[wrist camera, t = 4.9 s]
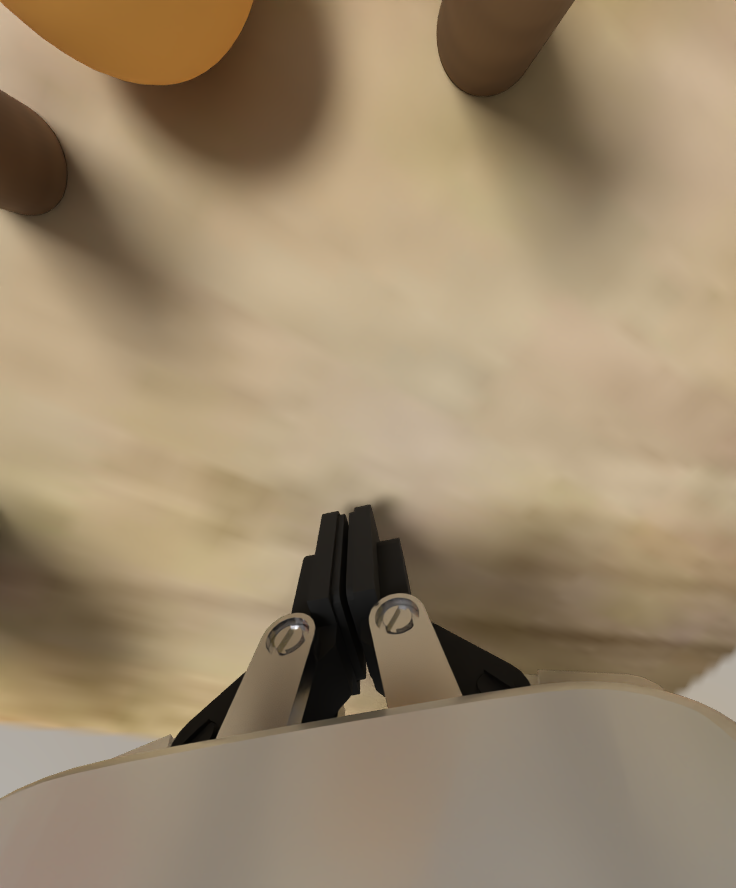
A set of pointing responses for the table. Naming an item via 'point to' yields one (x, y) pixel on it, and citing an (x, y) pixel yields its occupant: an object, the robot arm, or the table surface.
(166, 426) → the table surface
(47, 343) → the table surface
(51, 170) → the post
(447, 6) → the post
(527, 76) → the table surface
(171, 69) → the ball
